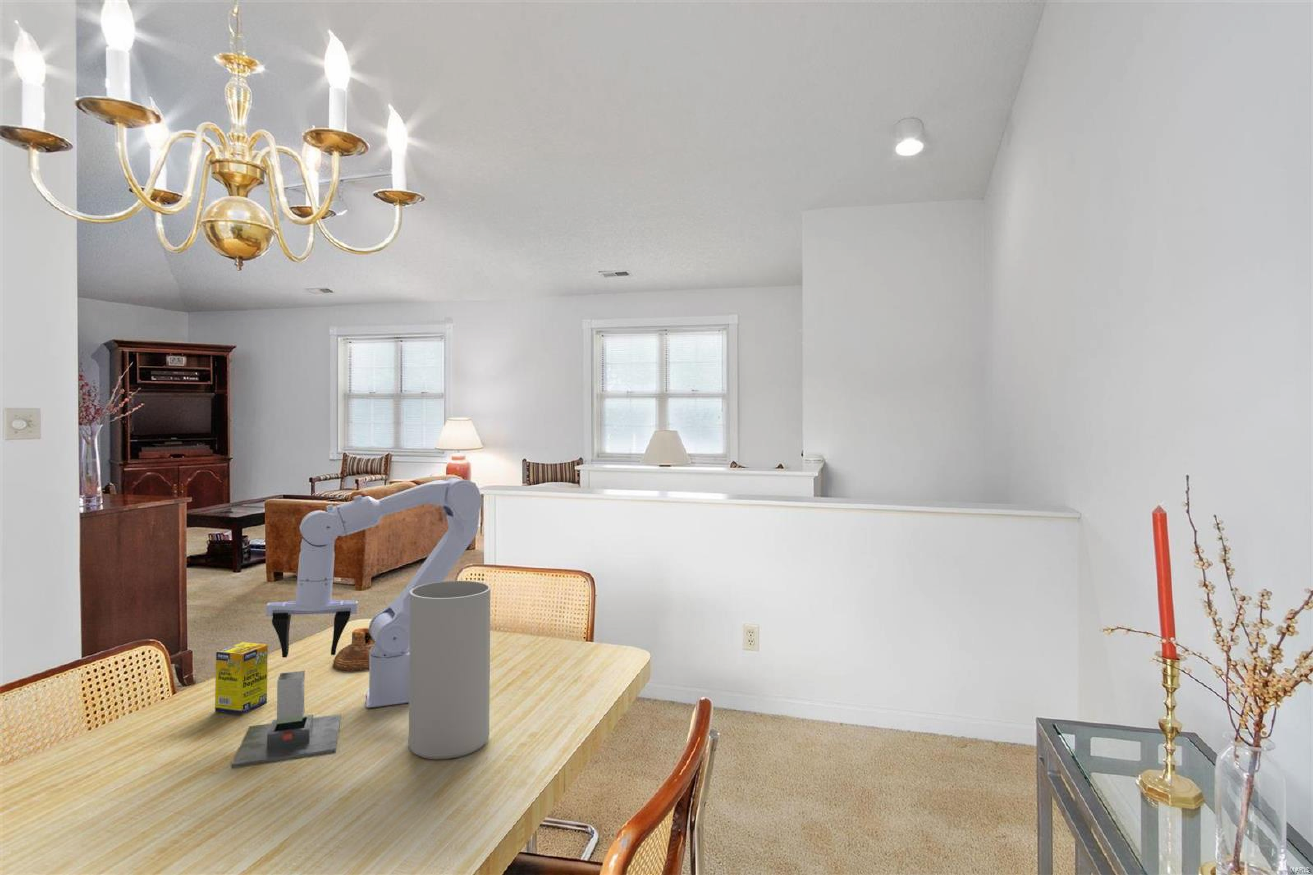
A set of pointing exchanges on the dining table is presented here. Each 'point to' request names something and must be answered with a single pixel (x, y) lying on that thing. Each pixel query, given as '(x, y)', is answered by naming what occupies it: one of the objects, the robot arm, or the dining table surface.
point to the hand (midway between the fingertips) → (309, 654)
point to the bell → (355, 652)
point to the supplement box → (241, 678)
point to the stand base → (288, 740)
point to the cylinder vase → (449, 668)
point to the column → (290, 697)
